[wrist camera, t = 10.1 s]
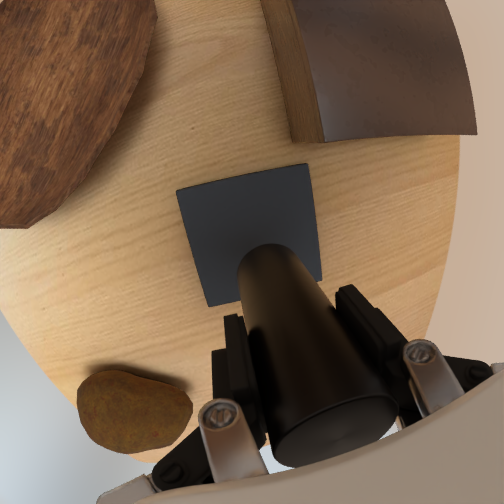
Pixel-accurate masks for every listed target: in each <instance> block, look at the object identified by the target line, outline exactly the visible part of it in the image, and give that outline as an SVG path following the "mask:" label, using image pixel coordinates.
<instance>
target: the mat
mask: <svg viewBox="0 0 504 504" xmlns="http://www.w3.org/2000/svg"><path fill="white" fill-rule="evenodd" d="M176 195H177V199H178V203H179V207H180V211H181V214H182V218H183V222H184V226H185V229H186V233H187V237H188V240H189V244H190V247H191V251H192V254H193V258H194V261H195V265H196V268H197V271H198V275H199V278H200V281H201V285H202V288H203V291H204V294H205V298H206V301H207V304H208V307H213V306H218V305H222V304H227V303H231V302H236V301H240V300H241V298H240V293H239V287H238V282H237V270H238V266H239V264H240V262H241V260H242V259H243V257H244V256H245V255H246V254H247V253H248V252H249V251H251V250H252V249H254V248H255V247H258V246H260V245H263V244H270V243H274V244H281V245H284V246H286V247H288V248H290V249H291V250H292V251H293V252H294V253H295V254H296V255H297V256H298V258H299V259H300V261H301V262H302V263H303V265H304V266H305V267H306V269H307V270H308V271H309V273H310V274H311V276H312V277H313V278H314V280H315V281H316V282H318V281H322V271H321V260H320V250H319V241H318V232H317V224H316V216H315V208H314V200H313V193H312V186H311V179H310V173H309V166H308V164H307V163H304V164H297V165H292V166H286V167H280V168H275V169H270V170H264V171H259V172H254V173H249V174H244V175H240V176H235V177H230V178H226V179H221V180H217V181H212V182H208V183H204V184H200V185H196V186H192V187H188V188H184V189H180V190H177V191H176Z"/></svg>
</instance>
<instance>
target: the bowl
mask: <svg viewBox="0 0 504 504" xmlns="http://www.w3.org/2000/svg"><path fill="white" fill-rule="evenodd" d="M156 21H157V13H156V8H155V2H154V0H3V1H2V2H1V3H0V229H28V228H29V227H31V226H32V225H34V224H35V223H37V222H38V221H40V220H41V219H43V218H44V217H46V216H48V215H49V214H51V213H52V212H54V211H55V210H57V208H58V207H59V206H60V205H61V204H62V203H63V202H64V201H65V199H66V198H67V197H68V196H69V195H70V194H71V193H72V192H73V191H74V190H75V189H76V188H77V187H78V185H79V184H80V183H81V182H82V181H83V180H84V179H85V177H86V176H87V174H88V172H89V170H90V169H91V167H92V165H93V164H94V162H95V160H96V159H97V157H98V156H99V154H100V152H101V151H102V149H103V148H104V146H105V145H106V143H107V142H108V140H109V139H110V137H111V136H112V134H113V133H114V131H115V130H116V128H117V125H118V123H119V121H120V119H121V116H122V114H123V112H124V110H125V108H126V106H127V104H128V102H129V100H130V98H131V96H132V94H133V92H134V90H135V88H136V86H137V84H138V82H139V80H140V78H141V76H142V75H143V70H144V66H145V62H146V57H147V53H148V50H149V46H150V42H151V38H152V35H153V31H154V28H155V25H156Z"/></svg>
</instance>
